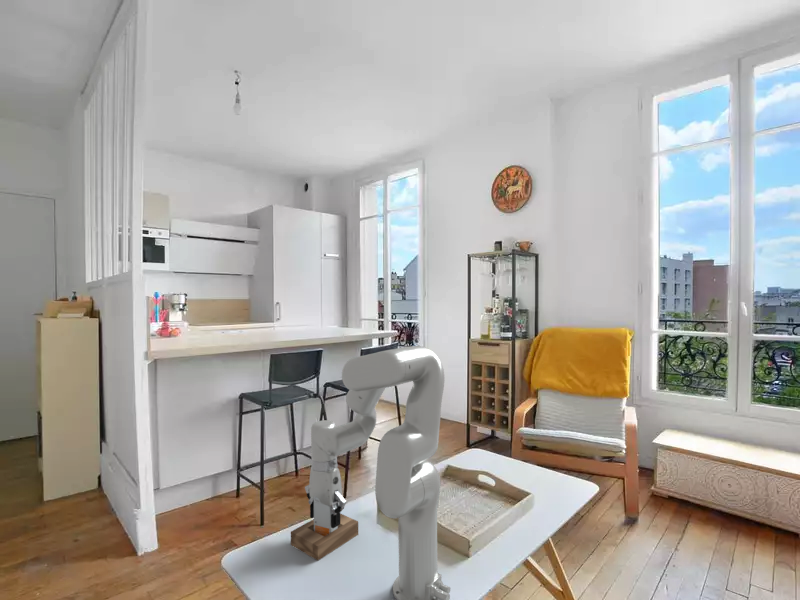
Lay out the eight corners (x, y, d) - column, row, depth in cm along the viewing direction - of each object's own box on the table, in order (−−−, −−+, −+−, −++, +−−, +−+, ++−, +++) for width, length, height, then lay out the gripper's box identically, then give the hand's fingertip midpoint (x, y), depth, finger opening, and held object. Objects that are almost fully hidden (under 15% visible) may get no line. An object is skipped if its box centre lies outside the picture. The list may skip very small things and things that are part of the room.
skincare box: (313, 537, 124) (312, 497, 124) (321, 530, 128) (320, 491, 128) (330, 542, 122) (330, 501, 122) (338, 534, 126) (338, 494, 126)
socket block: (358, 534, 128) (358, 521, 128) (318, 560, 115) (317, 546, 115) (331, 521, 135) (331, 509, 135) (290, 545, 123) (290, 531, 123)
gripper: (354, 466, 123) (354, 525, 123) (314, 453, 133) (315, 507, 134) (335, 475, 117) (335, 536, 117) (295, 460, 128) (296, 517, 128)
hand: (325, 520), depth 125 cm, fingers open, 8 cm apart
